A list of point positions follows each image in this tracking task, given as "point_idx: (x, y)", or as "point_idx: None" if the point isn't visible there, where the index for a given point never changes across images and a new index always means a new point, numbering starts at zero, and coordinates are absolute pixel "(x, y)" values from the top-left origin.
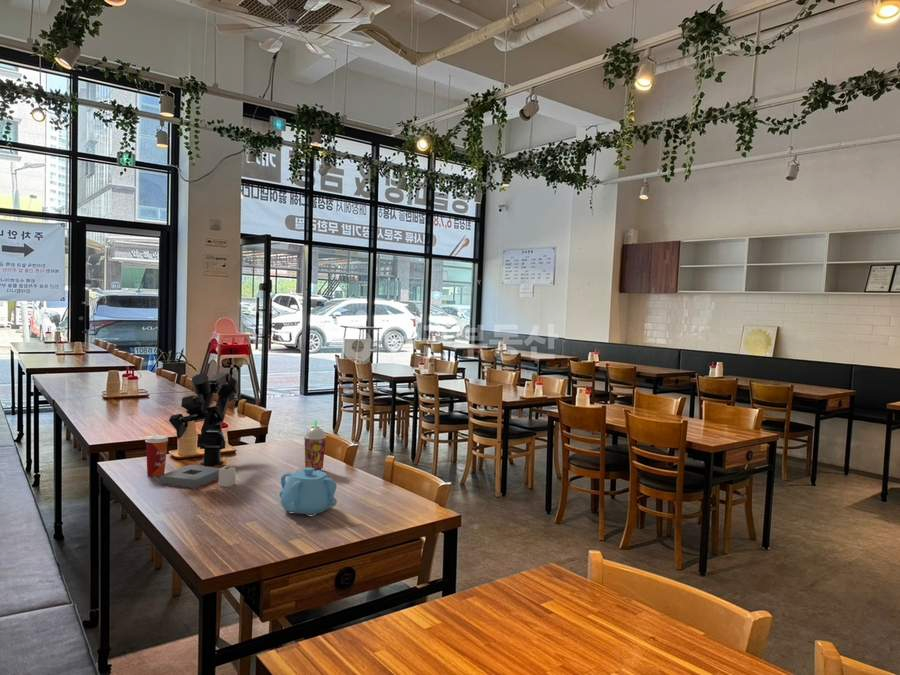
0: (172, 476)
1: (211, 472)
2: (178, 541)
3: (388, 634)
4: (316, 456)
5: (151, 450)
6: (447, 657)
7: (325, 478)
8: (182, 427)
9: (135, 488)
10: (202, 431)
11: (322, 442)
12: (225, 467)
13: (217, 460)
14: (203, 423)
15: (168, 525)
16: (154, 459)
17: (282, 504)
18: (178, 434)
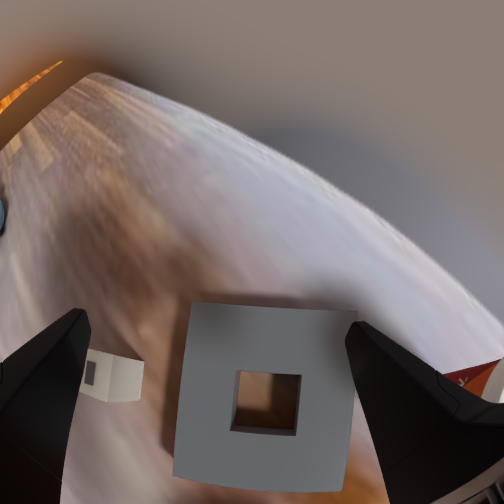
0: (305, 317)
1: (184, 416)
2: (126, 90)
3: (15, 95)
4: None
5: (486, 363)
6: (5, 98)
7: None
8: (421, 462)
9: (382, 252)
10: (70, 316)
11: None
12: (99, 381)
13: None
14: (25, 374)
15: (156, 108)
16: (452, 375)
17: (1, 202)
18: (366, 336)
